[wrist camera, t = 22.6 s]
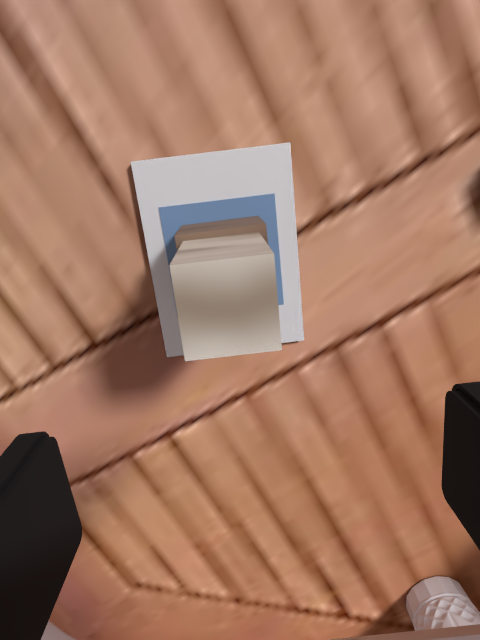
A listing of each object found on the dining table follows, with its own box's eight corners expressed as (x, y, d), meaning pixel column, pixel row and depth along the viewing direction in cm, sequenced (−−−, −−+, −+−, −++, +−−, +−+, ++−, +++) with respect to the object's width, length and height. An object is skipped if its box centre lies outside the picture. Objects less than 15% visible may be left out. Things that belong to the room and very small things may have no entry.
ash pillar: (265, 305, 29) (281, 350, 22) (193, 313, 29) (184, 361, 22) (258, 232, 28) (274, 253, 20) (182, 241, 28) (169, 265, 20)
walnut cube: (265, 289, 35) (274, 311, 30) (193, 298, 35) (189, 322, 30) (258, 215, 33) (266, 223, 28) (182, 225, 33) (174, 235, 28)
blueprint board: (302, 336, 38) (304, 340, 37) (167, 353, 38) (166, 357, 37) (288, 143, 33) (290, 142, 32) (132, 162, 32) (130, 161, 32)
